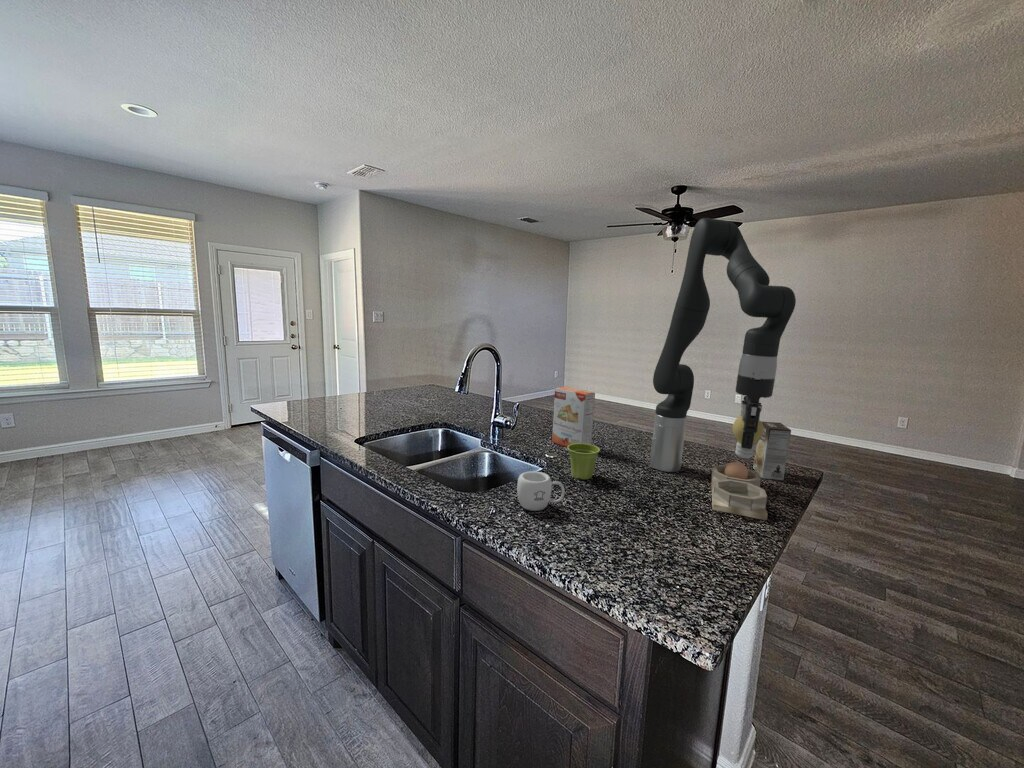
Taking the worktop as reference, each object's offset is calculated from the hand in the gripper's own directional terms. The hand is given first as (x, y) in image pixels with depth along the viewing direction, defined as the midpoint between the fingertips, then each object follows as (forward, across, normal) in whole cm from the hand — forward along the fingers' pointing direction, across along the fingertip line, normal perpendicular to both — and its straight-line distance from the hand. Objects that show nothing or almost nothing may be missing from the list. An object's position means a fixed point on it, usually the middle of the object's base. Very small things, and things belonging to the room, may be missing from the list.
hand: (745, 443), depth 103 cm
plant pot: (+20, -7, -40) cm, 46 cm away
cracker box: (+21, -34, -52) cm, 65 cm away
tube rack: (+19, -15, +1) cm, 24 cm away
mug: (+20, +18, -44) cm, 51 cm away
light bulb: (+3, 0, 0) cm, 3 cm away
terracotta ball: (+15, -22, +1) cm, 26 cm away
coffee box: (+20, -39, +11) cm, 45 cm away
